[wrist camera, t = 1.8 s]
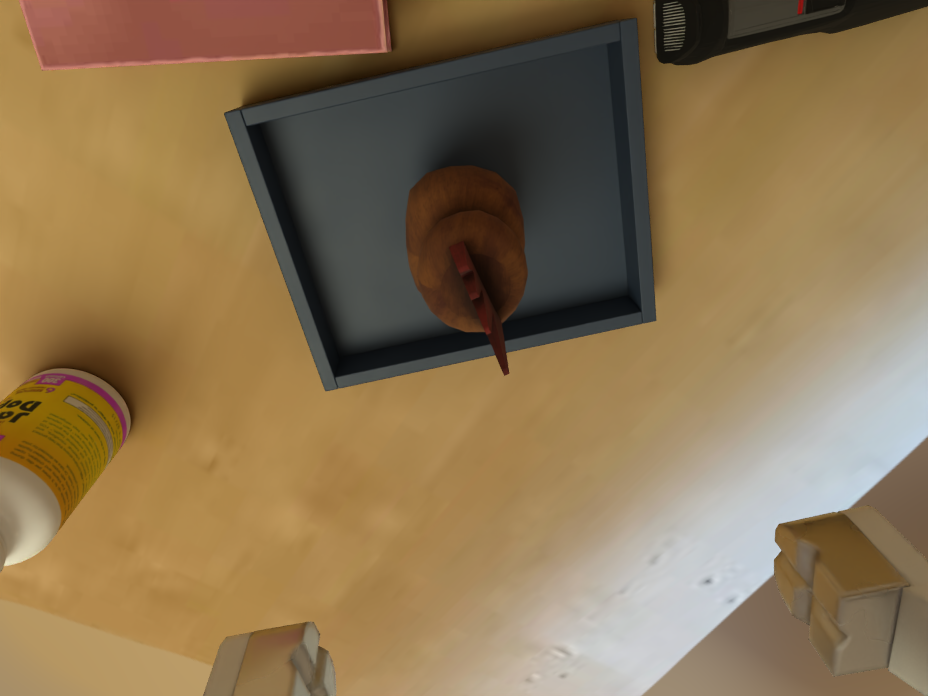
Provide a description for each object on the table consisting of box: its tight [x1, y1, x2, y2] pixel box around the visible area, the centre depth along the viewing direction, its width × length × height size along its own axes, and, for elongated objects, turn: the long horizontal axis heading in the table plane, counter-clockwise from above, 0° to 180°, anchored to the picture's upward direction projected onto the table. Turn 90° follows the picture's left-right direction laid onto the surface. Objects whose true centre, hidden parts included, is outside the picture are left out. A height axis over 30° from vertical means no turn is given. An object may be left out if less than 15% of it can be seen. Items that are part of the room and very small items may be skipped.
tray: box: [224, 18, 656, 391], centre depth 33 cm, size 20×16×3 cm
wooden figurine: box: [405, 165, 528, 376], centre depth 27 cm, size 7×6×15 cm
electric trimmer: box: [653, 0, 928, 65], centre depth 29 cm, size 4×16×3 cm, turn 100°
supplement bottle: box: [0, 368, 131, 572], centre depth 32 cm, size 7×7×13 cm
